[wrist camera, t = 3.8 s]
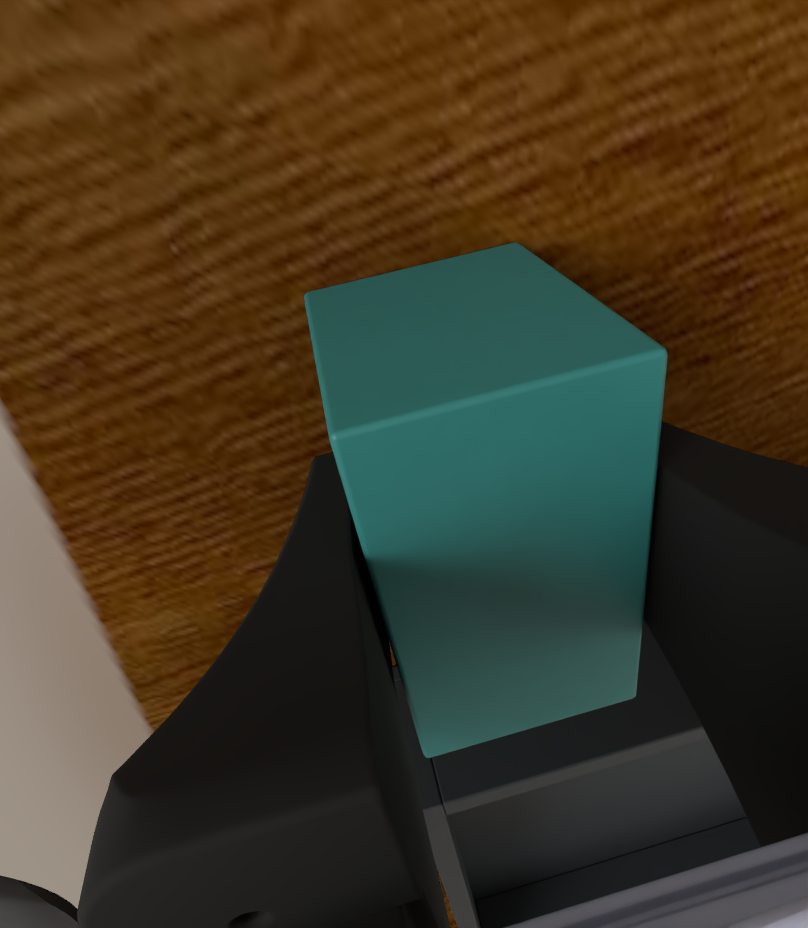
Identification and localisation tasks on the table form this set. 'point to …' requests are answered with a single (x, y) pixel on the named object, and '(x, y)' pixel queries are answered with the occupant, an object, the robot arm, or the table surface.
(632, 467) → the teal block
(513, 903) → the dark grey square tray
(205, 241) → the table surface
